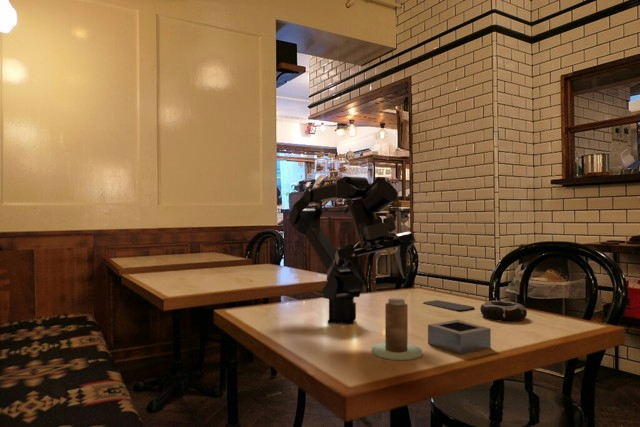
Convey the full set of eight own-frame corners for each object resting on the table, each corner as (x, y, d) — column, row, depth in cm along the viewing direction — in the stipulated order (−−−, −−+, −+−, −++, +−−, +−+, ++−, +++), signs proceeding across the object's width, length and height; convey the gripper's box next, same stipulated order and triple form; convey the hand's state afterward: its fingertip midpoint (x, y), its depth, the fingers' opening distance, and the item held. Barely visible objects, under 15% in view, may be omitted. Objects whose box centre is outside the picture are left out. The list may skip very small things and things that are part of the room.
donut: (472, 317, 119) (472, 303, 119) (492, 311, 126) (492, 297, 127) (515, 325, 110) (515, 310, 110) (534, 318, 118) (534, 303, 118)
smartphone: (437, 299, 142) (476, 306, 129) (437, 302, 141) (476, 310, 129) (421, 302, 137) (459, 309, 125) (421, 305, 137) (460, 313, 125)
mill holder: (460, 354, 86) (460, 334, 86) (427, 343, 94) (427, 324, 94) (490, 347, 91) (490, 328, 91) (457, 337, 98) (457, 319, 98)
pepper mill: (381, 349, 87) (381, 300, 87) (391, 344, 91) (391, 296, 91) (401, 353, 84) (401, 302, 85) (411, 348, 88) (411, 299, 88)
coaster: (370, 358, 83) (370, 355, 83) (372, 343, 93) (372, 341, 93) (423, 361, 82) (423, 358, 82) (420, 346, 92) (420, 343, 92)
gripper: (331, 215, 97) (351, 281, 90) (409, 199, 100) (433, 261, 93) (328, 235, 107) (345, 295, 101) (398, 219, 110) (420, 277, 103)
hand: (385, 282), depth 99 cm, fingers open, 9 cm apart
